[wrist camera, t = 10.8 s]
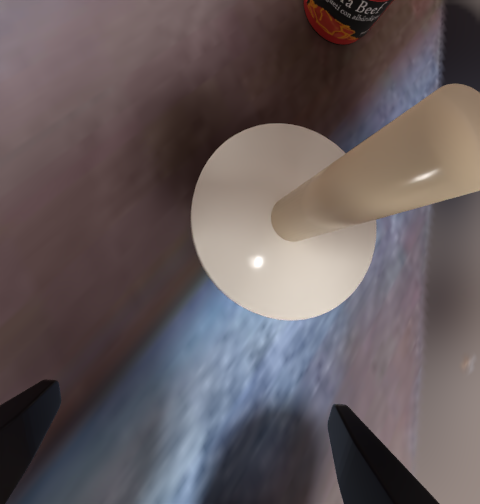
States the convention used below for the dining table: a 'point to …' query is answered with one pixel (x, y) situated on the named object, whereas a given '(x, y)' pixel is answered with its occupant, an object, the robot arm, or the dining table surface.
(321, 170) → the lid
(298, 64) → the dining table surface
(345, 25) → the canned food
